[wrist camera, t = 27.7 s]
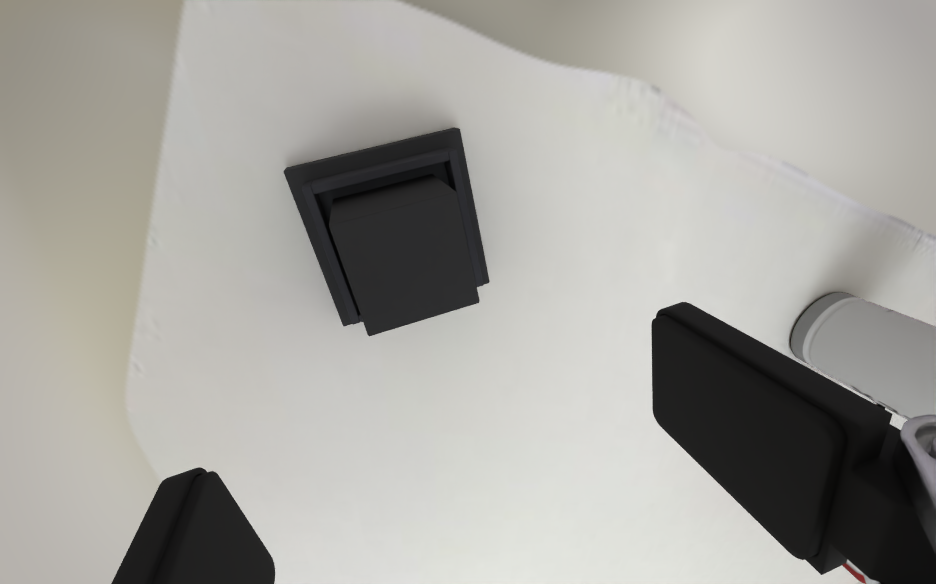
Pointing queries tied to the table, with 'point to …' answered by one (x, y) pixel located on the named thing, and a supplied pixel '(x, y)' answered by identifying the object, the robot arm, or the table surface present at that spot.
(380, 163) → the base pad
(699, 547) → the table surface
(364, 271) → the black cube
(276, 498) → the table surface
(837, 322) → the travel mug
